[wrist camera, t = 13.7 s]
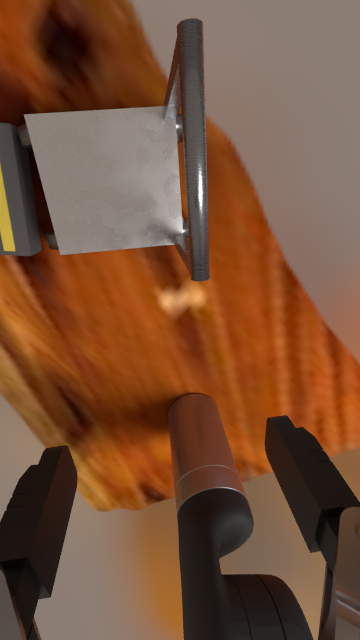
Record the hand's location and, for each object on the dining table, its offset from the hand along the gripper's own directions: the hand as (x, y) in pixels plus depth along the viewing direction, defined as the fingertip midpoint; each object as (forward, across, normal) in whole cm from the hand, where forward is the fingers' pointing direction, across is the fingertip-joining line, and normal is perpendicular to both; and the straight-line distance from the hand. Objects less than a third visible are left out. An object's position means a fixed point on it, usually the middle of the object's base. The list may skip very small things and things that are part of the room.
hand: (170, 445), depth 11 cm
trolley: (+30, +3, -10) cm, 32 cm away
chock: (+30, +16, -10) cm, 36 cm away
